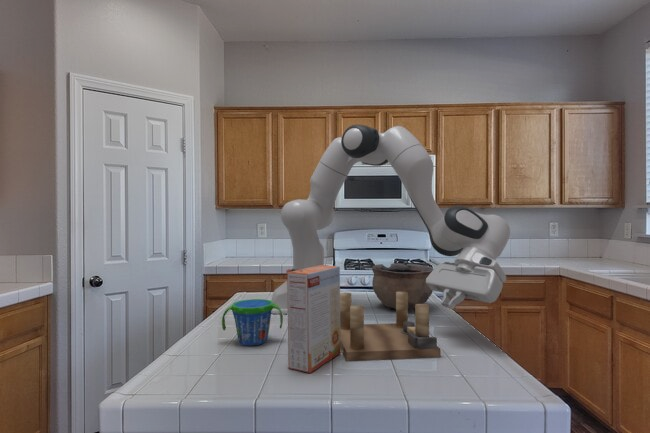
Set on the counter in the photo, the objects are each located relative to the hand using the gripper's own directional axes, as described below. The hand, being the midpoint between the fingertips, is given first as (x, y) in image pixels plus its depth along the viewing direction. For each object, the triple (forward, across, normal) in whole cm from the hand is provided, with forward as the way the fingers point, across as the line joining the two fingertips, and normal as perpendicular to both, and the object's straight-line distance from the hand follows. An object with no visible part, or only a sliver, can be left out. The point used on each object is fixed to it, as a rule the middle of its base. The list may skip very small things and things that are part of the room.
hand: (446, 306), depth 95 cm
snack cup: (+36, -28, -21) cm, 51 cm away
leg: (+10, -4, +1) cm, 11 cm away
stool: (+16, -10, -2) cm, 19 cm away
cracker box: (+31, -8, -16) cm, 36 cm away
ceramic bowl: (-6, -37, +21) cm, 43 cm away
